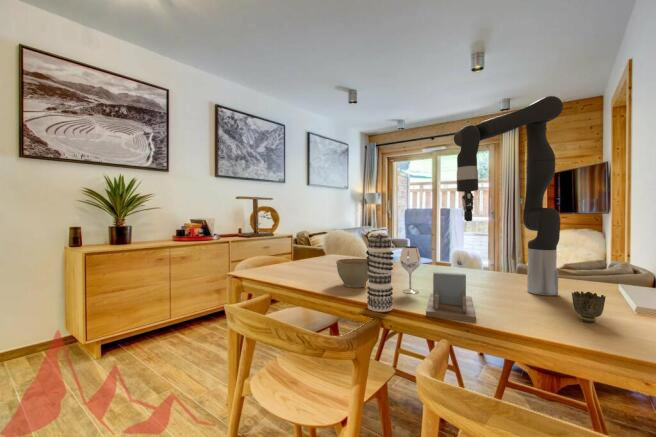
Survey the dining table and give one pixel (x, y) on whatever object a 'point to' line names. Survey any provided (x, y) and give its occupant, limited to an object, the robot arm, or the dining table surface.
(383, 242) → the decorative candle
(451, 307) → the dish rack
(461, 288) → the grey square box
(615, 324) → the dining table surface
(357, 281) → the planter bowl
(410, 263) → the wineglass
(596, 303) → the cup
